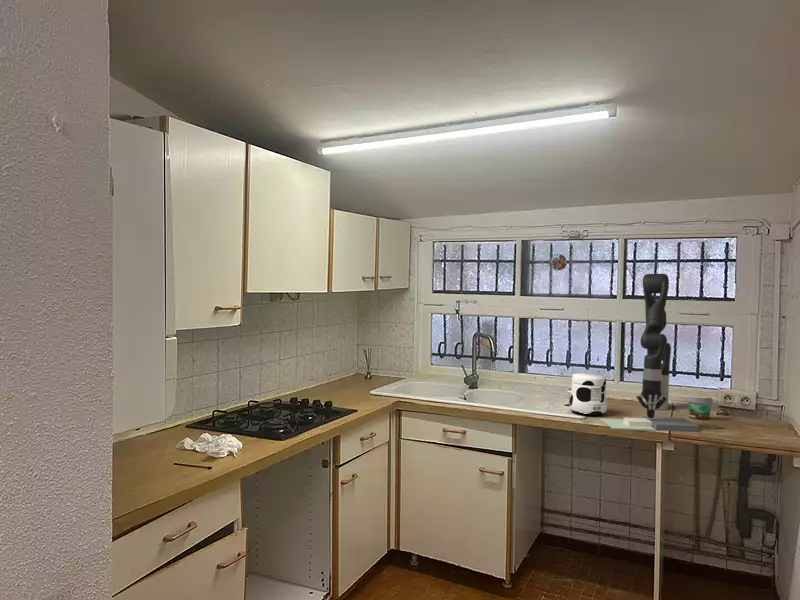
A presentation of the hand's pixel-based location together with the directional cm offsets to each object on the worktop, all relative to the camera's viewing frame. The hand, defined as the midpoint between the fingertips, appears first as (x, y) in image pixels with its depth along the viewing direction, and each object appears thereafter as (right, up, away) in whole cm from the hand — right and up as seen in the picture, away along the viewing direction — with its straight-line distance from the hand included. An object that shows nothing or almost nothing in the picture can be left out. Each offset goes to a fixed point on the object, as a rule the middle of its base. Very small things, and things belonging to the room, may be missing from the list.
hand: (650, 417), depth 261 cm
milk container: (-21, -3, +22) cm, 30 cm away
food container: (+31, -4, +16) cm, 35 cm away
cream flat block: (-6, -2, 0) cm, 6 cm away
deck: (+8, -4, 0) cm, 9 cm away
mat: (-10, -3, +1) cm, 11 cm away
